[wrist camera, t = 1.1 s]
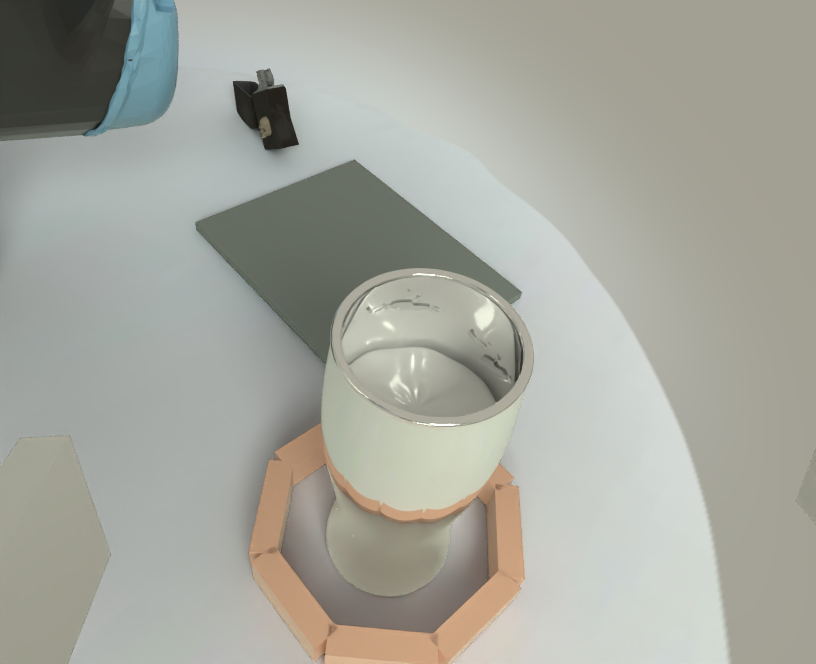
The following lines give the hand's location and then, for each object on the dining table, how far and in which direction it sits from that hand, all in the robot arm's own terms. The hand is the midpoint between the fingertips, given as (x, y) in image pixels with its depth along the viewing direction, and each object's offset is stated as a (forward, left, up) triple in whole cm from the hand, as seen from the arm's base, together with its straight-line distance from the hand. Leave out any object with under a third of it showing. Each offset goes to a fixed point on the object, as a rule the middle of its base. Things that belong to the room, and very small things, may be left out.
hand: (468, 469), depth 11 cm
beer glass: (-5, +5, -21) cm, 22 cm away
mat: (-21, +16, -20) cm, 34 cm away
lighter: (-37, +19, -21) cm, 47 cm away
